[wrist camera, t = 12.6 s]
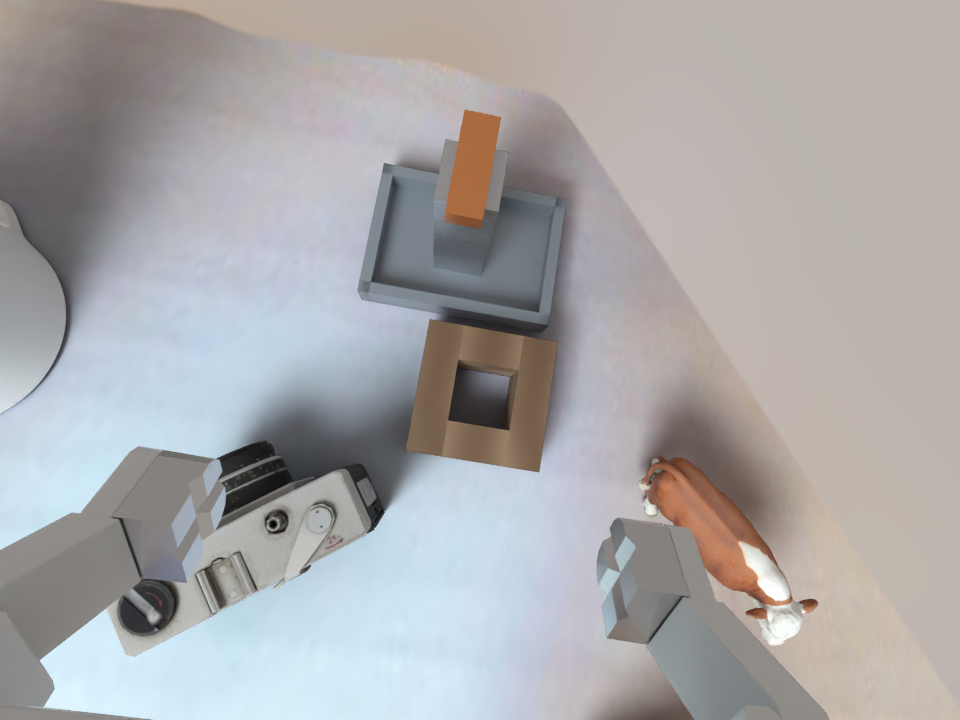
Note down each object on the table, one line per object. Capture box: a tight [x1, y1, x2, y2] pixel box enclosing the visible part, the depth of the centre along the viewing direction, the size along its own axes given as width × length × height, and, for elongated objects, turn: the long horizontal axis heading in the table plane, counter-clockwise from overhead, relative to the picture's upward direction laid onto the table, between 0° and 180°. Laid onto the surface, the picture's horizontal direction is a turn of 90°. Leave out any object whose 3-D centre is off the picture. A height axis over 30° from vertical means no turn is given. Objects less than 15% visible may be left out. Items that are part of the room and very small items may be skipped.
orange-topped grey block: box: [433, 110, 509, 277], centre depth 34 cm, size 4×6×13 cm, turn 170°
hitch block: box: [406, 319, 557, 472], centre depth 38 cm, size 9×9×4 cm
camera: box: [106, 441, 385, 657], centre depth 32 cm, size 14×9×10 cm, turn 109°
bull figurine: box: [638, 456, 818, 645], centre depth 36 cm, size 4×13×8 cm, turn 34°
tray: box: [357, 163, 567, 332], centre depth 40 cm, size 14×10×2 cm
